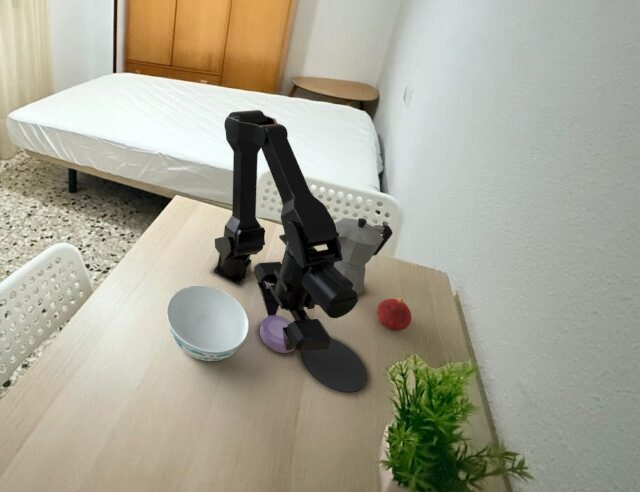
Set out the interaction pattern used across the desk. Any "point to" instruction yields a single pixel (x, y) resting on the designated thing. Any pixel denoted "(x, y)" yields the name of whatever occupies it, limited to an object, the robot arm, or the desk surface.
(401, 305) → the red pomegranate
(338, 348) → the coaster
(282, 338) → the purple disc
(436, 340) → the desk surface
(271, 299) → the robot arm
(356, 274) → the coffeepot
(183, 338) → the chinaware
